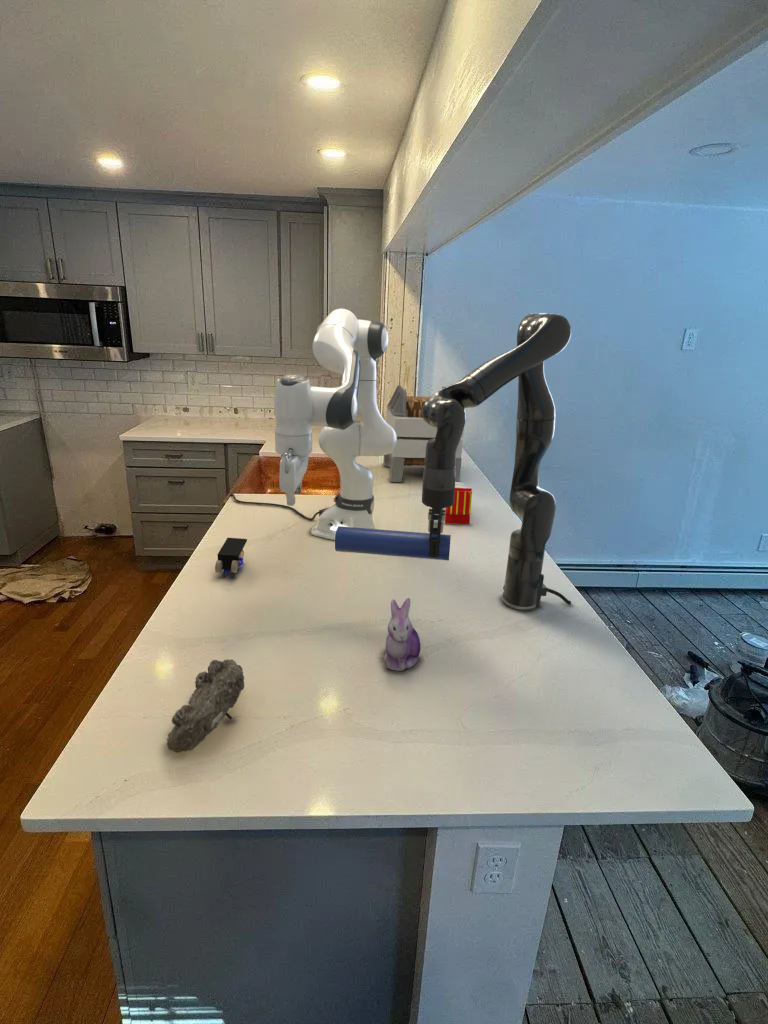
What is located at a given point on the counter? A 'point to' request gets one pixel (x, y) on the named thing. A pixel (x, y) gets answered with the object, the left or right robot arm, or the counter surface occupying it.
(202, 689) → the fossil
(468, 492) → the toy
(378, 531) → the rod
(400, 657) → the figurine
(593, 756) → the counter surface
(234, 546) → the figurine character
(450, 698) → the counter surface
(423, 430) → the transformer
